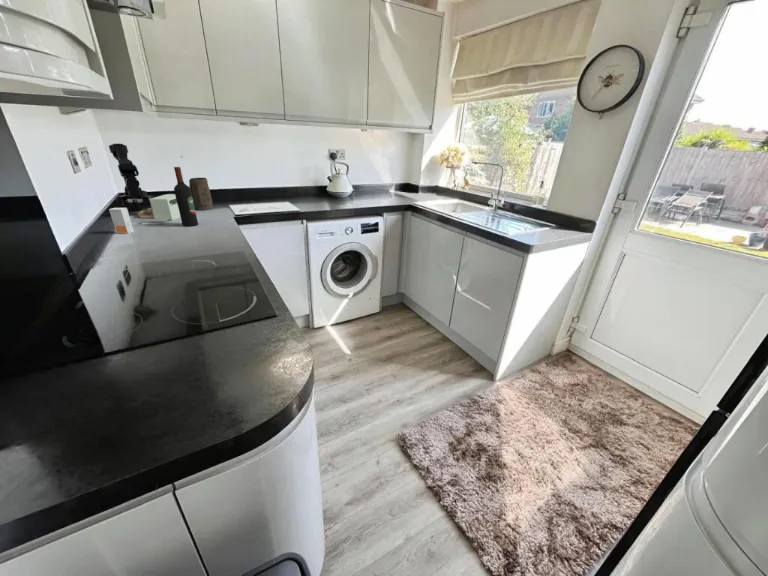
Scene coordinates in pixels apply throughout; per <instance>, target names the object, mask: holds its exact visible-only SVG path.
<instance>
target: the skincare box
mask: <svg viewBox="0 0 768 576" xmlns="http://www.w3.org/2000/svg"><path fill="white" fill-rule="evenodd" d="M108 210H109V215H110V216H111V220H112V224H113V226H114V229H115V233H116V234H126V235H127V234H131V233H134V232H135V230H134V226H133V224H132V220H131V217H130V213H129V210H128V208H127V207H113V208H109V209H108Z"/></svg>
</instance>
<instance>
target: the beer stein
mask: <svg viewBox="0 0 768 576" xmlns="http://www.w3.org/2000/svg"><path fill="white" fill-rule="evenodd" d="M208 182H209V181H208V179H207V177H192V178H189V180H188V183H189V187H190V190H191V194H192V198H193V203H194V207H195V210H196V209H197V210H196V211H210V210H209V209H211V210H214V208H215V207H214V204H213V198H212V194H211V190H210V187H209V183H208Z"/></svg>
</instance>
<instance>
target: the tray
mask: <svg viewBox="0 0 768 576" xmlns="http://www.w3.org/2000/svg"><path fill="white" fill-rule="evenodd" d="M136 212H137V211H136ZM137 216H138V218H140V219H141V218H143V219H144V218H145V219H146V218H148V219H149V218H150V219H152V218H153V219H155V217H154V214H153V210H152V207H149V208H145V209H143V210H142V211H140V212H137Z"/></svg>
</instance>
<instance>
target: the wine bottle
mask: <svg viewBox="0 0 768 576" xmlns="http://www.w3.org/2000/svg"><path fill="white" fill-rule="evenodd" d="M173 168H174V174H175V177H176V181H177V182H176V183H177V184H176V185H175V186H174V187H173V192H174V194H175V196H176V200H177V204H178V208H179V213H180V220H181V223H182V227H184V228H191V227H197V226H199V222H198V217H197V213H196V208H195V207H196V206H195V203H194V199H193V196H192V194H191V190H190V187H189V186H188V185H187V184H186V183H185V181H184V178H183V174H182V169H181V166H174V167H173Z"/></svg>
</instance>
